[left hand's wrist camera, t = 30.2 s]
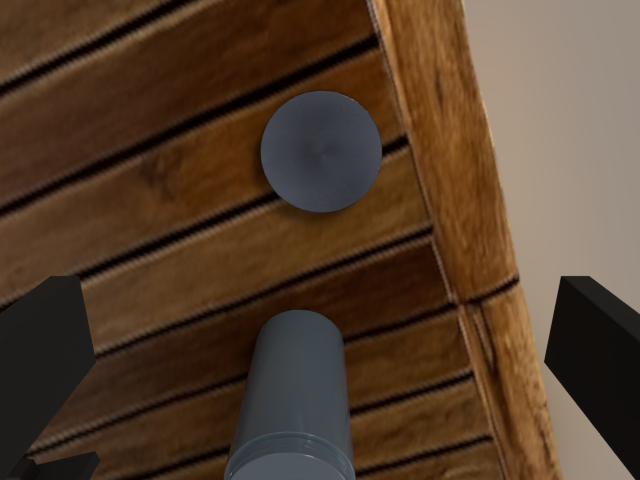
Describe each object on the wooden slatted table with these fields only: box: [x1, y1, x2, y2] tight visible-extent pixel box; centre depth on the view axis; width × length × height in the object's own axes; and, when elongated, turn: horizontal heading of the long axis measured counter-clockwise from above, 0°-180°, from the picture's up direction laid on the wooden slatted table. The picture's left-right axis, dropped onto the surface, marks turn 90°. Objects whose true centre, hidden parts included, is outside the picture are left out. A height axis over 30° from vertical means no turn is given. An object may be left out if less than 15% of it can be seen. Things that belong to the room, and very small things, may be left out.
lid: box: [260, 90, 382, 213], centre depth 39 cm, size 10×10×2 cm
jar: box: [224, 310, 356, 480], centre depth 38 cm, size 9×9×18 cm
